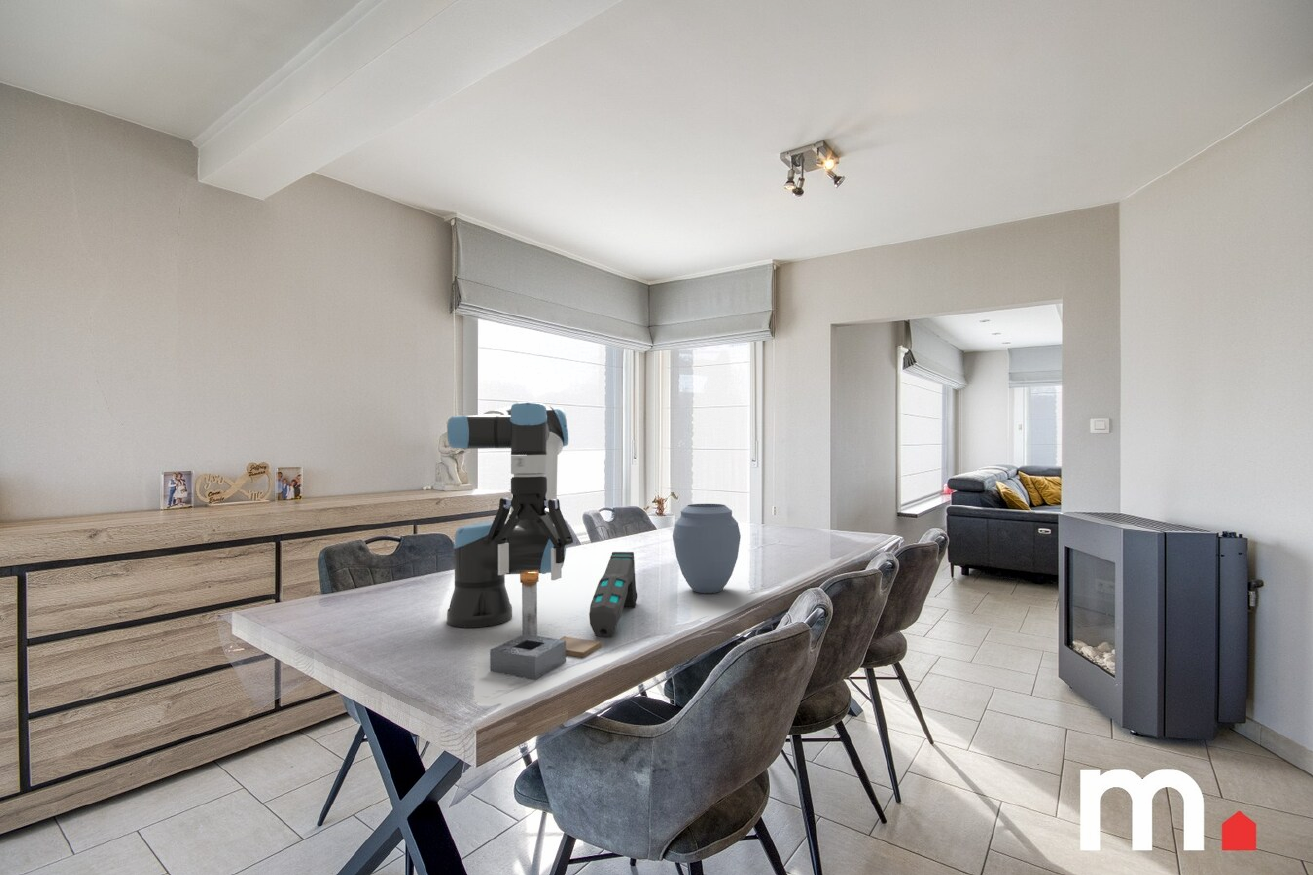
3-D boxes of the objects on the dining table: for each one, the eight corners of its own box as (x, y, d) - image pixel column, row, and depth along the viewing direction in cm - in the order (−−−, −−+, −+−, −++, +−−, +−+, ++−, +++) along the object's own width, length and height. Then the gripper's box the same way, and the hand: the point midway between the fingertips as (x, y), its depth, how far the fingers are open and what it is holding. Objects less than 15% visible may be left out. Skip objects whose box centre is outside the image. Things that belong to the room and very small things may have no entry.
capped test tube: (516, 644, 125) (516, 572, 125) (527, 639, 128) (527, 569, 128) (531, 647, 123) (531, 574, 123) (542, 641, 126) (542, 570, 127)
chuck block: (490, 671, 110) (490, 649, 110) (523, 654, 119) (523, 634, 119) (535, 679, 106) (535, 657, 106) (566, 661, 115) (566, 640, 115)
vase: (744, 584, 178) (743, 502, 178) (738, 600, 159) (737, 509, 159) (680, 581, 182) (679, 501, 183) (666, 597, 163) (665, 508, 164)
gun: (639, 595, 159) (635, 545, 154) (621, 668, 131) (616, 609, 127) (615, 595, 160) (610, 544, 155) (592, 668, 132) (586, 609, 127)
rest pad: (545, 651, 120) (545, 646, 120) (564, 641, 127) (564, 636, 127) (583, 657, 117) (583, 652, 117) (601, 646, 123) (601, 641, 123)
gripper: (470, 475, 128) (470, 575, 127) (569, 476, 117) (569, 584, 117) (493, 474, 135) (493, 568, 134) (588, 475, 124) (589, 577, 124)
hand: (529, 576), depth 125 cm, fingers open, 13 cm apart
